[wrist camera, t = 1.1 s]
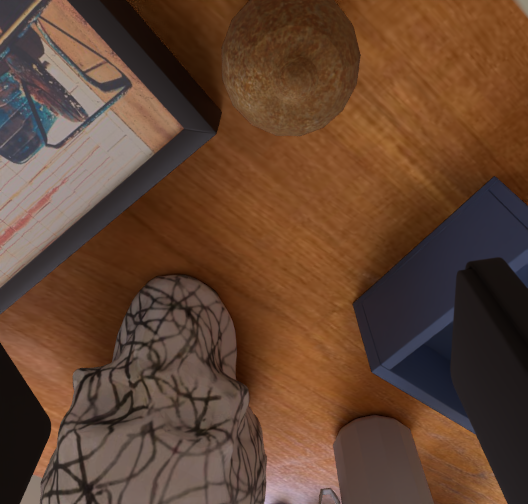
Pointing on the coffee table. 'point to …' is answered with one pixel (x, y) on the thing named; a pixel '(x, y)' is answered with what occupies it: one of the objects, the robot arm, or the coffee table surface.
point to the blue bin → (438, 296)
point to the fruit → (290, 64)
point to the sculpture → (162, 411)
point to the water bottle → (378, 464)
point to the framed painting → (83, 127)
